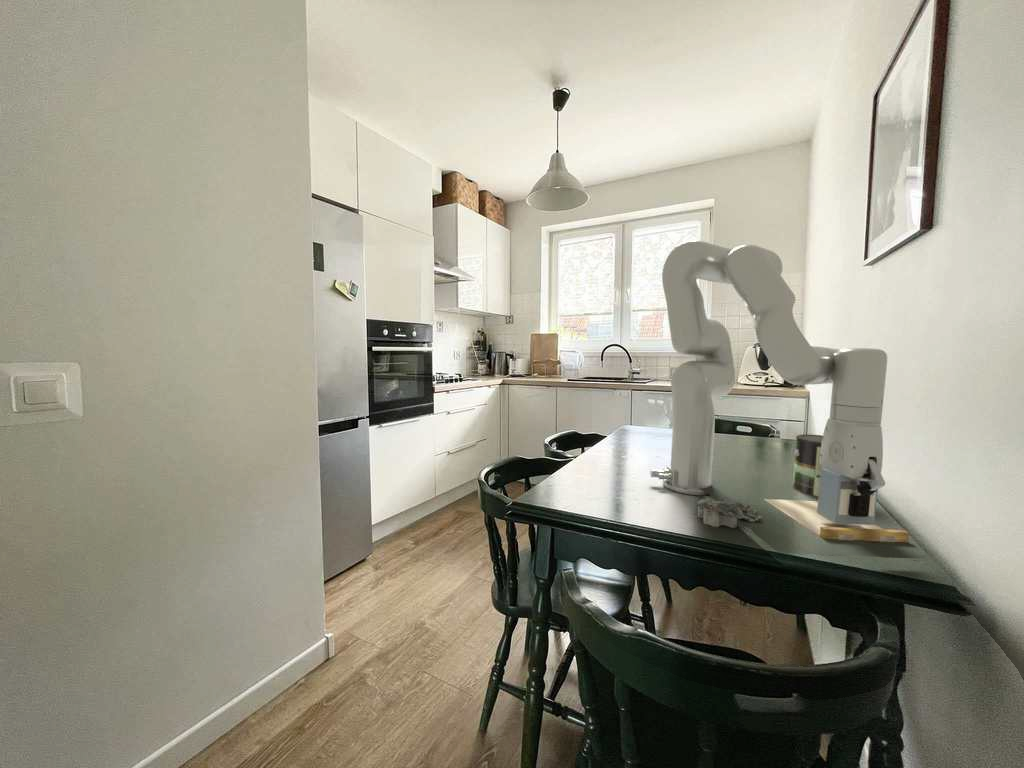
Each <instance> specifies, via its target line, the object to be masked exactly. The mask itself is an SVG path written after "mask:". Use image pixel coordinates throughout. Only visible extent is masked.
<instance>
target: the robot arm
mask: <svg viewBox="0 0 1024 768" xmlns="http://www.w3.org/2000/svg"><path fill="white" fill-rule="evenodd" d="M782 272H783V262H782V259H781V258H780V256H779V255H778V254H777V253H776V252H774V250H773V251H772V250H770V249H767V248H764V247H760V246H758V245H755V244H743V245H740V246H737V247H735V248H731V247H723V246H719V245H716V244H714V243H709V242H707V241H703V240H698V239H695V240H694V239H693V240H691V239H690V240H686V241H682V242H681V243H679V244H677V245H676V246H674V248H673V249H672V250H671V252H669V254H668V255H667V257H666V259H665V262H664V263H663V268H662V272H661V274H662V275H661V278H662V280H661V282H662V287H663V293H664V297H665V303H666V307H667V308H666V311H667V318H668V325H669V332H670V339H671V345H672V347H673V349H674V351H676V353H678V354H680V355H683V356H689V357H695V360H687V361H685V362H682V363H681V364H679V365H678V366H677V367H676V368H675V369H674V371H673V373H672V376H671V379H670V385H671V386H670V388H671V395H672V410H673V412H672V413H673V414H672V434H671V453H670V465H666V468H663V470H661V469H660V470H659V469H650V472H649V473H650V477H651V478H658V480H662V484H663V486H664V487H665V488H667V489H669V490H670V491H673V492H677V493H681V494H686V495H690V496H692V495H693V496H709V495H710V494H709V493H708V492H707V491H706V490H704V489H706V488H709V487H711V485H712V471H713V460H714V459H713V457H714V443H715V442H714V441H715V422H716V414H715V407H714V405H713V399H716V398H722V397H725V396H727V395H729V393H731V391H732V390H733V389H734V386H735V383H736V371H735V365H734V364H735V363H734V356H733V351H732V345H731V343H732V342H731V338H730V335H729V331H728V330H727V329H726V326H724V325H723V324H722V323H721V322H720V321H718V320H715V319H711V318H707V314H706V309H705V302H704V297H703V294H702V291H701V289H700V288H699V287H700V286H699V285H698V282H697V280H702V281H707V282H713V283H718V284H719V283H720V284H727V285H732V287H733V288H734V290H735V292H736V293H737V294H738V296H739V298H740V299H741V301H742V302H743V303H744V305H745V307H746V309H747V311H748V312H749V313H750V315H751V316H752V319H753V325H754V326H753V327H754V330H755V334H756V338H757V341H758V344H759V345H760V348H761V351H762V352H763V354H764V355H765V357H766V358H767V360H768V362H769V363H770V364H771V366H772V368H773V370H775V372H776V373H777V375H778V376H779V377H780V378H781V379H783V380H784V381H786V382H787V383H790V384H792V385H795V386H806V385H822V384H832V387H831V388H832V389H831V398H830V399H831V401H830V408H829V417H828V418H827V421H826V424H825V426H824V430H823V435H822V436H823V438H822V444H821V450H820V459H819V463H820V465H821V466H822V467H823V468H826V469H828V470H831V471H833V472H835V473H838V474H840V475H843V476H844V477H846V478H849V479H851V481H852V488H853V494H850V500H849V511H848V514H849V515H850V516H854V517H868V515H869V505H870V496H871V497H872V496H873V495H874V492H876V491H877V490H878V491H879V489H881V488H883V487H885V486H886V482H885V479H884V477H883V475H882V469H883V459H884V455H883V454H884V441H883V430H882V419H883V418H882V417H883V416H882V415H883V410H884V409H883V406H884V396H885V387H886V379H887V369H888V368H887V367H888V354H887V353H886V351H884V350H882V349H881V348H865V347H858V348H857V347H856V348H855V347H851V348H850V347H847V348H841V349H839V348H831V347H826V346H825V347H823V346H815V345H811V343H809V341H808V340H807V338H806V337H805V336H804V333H802V331H801V329H800V328H799V326H798V325H797V323H796V319H795V318H794V314H793V311H794V310H793V308H794V307H795V304H796V300H797V299H796V295H795V293H794V292H793V291H792V290H791V288H790V286H789V285H788V284H787V282H786V280H784V278H783V276H782ZM863 475H864V477H865V478H861V477H862V476H863ZM859 481H862V482H864V485H862V486H861V487H860V482H859ZM878 491H877V492H878Z"/></svg>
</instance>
